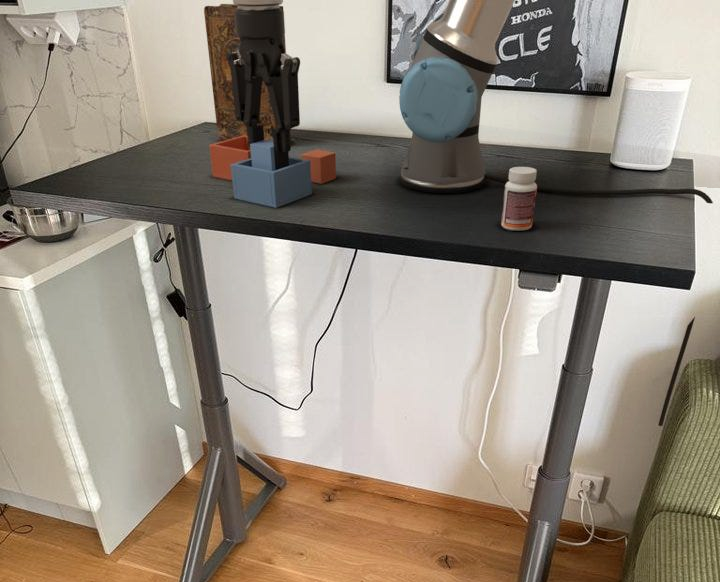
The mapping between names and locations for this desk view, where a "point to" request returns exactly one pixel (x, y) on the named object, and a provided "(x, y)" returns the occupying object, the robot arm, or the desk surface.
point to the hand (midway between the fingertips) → (270, 169)
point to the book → (219, 46)
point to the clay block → (321, 165)
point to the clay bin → (228, 155)
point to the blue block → (263, 155)
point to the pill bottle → (519, 199)
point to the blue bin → (272, 182)
